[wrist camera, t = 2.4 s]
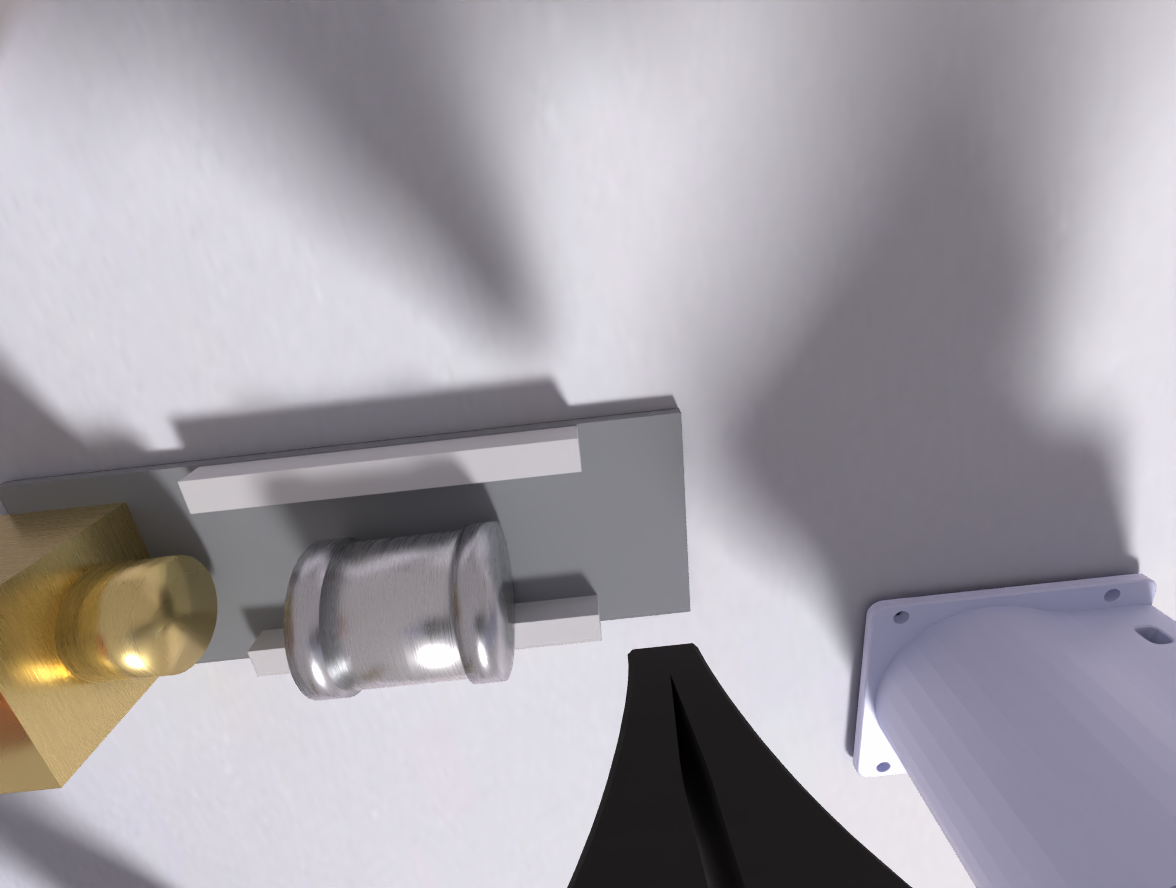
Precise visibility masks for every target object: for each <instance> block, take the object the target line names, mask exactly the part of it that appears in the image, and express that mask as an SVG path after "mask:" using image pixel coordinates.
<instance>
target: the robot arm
mask: <svg viewBox="0 0 1176 888" xmlns="http://www.w3.org/2000/svg"><path fill="white" fill-rule="evenodd" d="M1155 592H1156V583H1155V582H1154V581H1153V580H1151V579H1150V578H1148V577H1147V576H1145V575H1143V574H1128V575H1119V576H1109V577H1100V578H1090V579H1081V580H1071V581H1062V582H1052V583H1043V584H1033V585H1024V586H1014V587H1005V588H995V589H986V590H976V591H967V592H957V593H948V594H938V595H929V596H919V597H910V598H900V599H891V600H882V601H878V602H876V603H874V604H873V605H871V607H870V608H869V609H868V611H867V615H866V626H865V637H864V648H863V658H862V669H861V680H860V690H859V701H858V712H857V722H856V733H855V744H854V755H853V765H854V767H855V769H856V771H857V773H858V774H859V775H861V776H864V777H873V776H883V775H892V774H902V773H908V775H909V776H910V778H911V780H912V781H913V783H914V785H915V786H916V788H917V790H918V791H919V793H920V795H921V796H922V798H923V800H924V801H925V803H926V805H927V806H928V808H929V810H930V811H931V813H932V815H933V816H934V818H935V820H936V821H937V823H938V825H939V826H940V828H941V830H942V831H943V833H944V835H945V836H946V838H947V840H948V841H949V843H950V845H951V846H952V848H953V850H954V851H955V853H956V855H957V856H958V858H959V860H960V861H961V863H962V865H963V866H964V868H965V870H966V871H967V873H968V875H969V876H970V878H971V880H972V881H973V883H974V885H975V886H976V888H1176V621H1174V620H1173V619H1171V618H1170V617H1168V616H1167V615H1165V614H1164V613H1162V612H1161V611H1159V610H1158V609H1156V608H1155V607H1153V606H1152V602H1153V599H1154V595H1155ZM901 611H902V613H901V614H899V615H897V616H895V615H896V614H897V613H898V612H901ZM628 663H629V670H628V686H627V694H626V702H625V708H624V713H623V718H622V724H621V729H620V734H619V738H618V743H617V747H616V750H615V754H614V758H613V762H612V765H611V769H610V773H609V777H608V780H607V783H606V787H605V790H604V793H603V796H602V799H601V802H600V805H599V808H598V811H597V814H596V817H595V820H594V823H593V825H592V828H591V831H590V834H589V836H588V839H587V841H586V844H585V846H584V849H583V851H582V854H581V856H580V859H579V861H578V864H577V866H576V869H575V871H574V873H573V876H572V878H571V881H570V883H569V885H568V887H567V888H912V887H911V886H909V885H908V884H907V883H906V882H905V881H903V880H902V879H901V878H900V877H899V876H898V875H897V874H895V873H894V872H893V871H892V870H891V869H890V868H889V867H887V866H886V865H885V864H884V863H883V862H882V861H881V860H879V859H878V858H877V857H876V856H875V855H874V854H873V853H871V852H870V851H869V850H868V849H867V848H866V847H865V846H863V845H862V844H861V843H860V842H859V841H858V840H857V839H855V838H854V837H853V836H852V835H851V834H850V833H849V832H848V831H847V830H846V829H845V828H844V827H843V826H842V825H841V824H840V823H839V822H838V821H836V820H835V819H834V818H833V817H832V816H831V815H830V814H829V813H828V812H827V811H826V810H825V809H824V808H823V807H822V806H821V805H820V804H819V803H818V802H817V801H816V800H815V799H814V798H813V797H812V796H811V795H810V794H809V793H808V792H807V790H806V789H805V788H804V787H803V786H802V785H801V784H800V783H799V782H798V781H797V780H796V779H795V778H794V777H793V775H792V774H791V773H790V772H789V771H788V770H787V769H786V768H785V767H784V765H783V764H782V763H781V762H780V761H779V760H778V758H777V757H776V756H775V755H774V754H773V753H772V751H771V750H770V749H769V748H768V747H767V746H766V744H765V743H764V742H763V741H762V740H761V738H760V737H759V736H758V735H757V733H756V732H755V731H754V730H753V728H752V727H751V726H750V724H749V723H748V722H747V720H746V719H745V718H744V717H743V715H742V714H741V713H740V711H739V710H738V709H737V707H736V706H735V705H734V703H733V702H732V701H731V699H730V698H729V696H728V695H727V694H726V692H725V691H724V689H723V688H722V686H721V685H720V683H719V682H718V680H717V679H716V677H715V676H714V674H713V673H712V671H711V669H710V668H709V666H708V665H707V663H706V661H705V660H704V658H703V656H702V654H701V652H700V651H699V649H698V647H697V646H695V645H694V644H693V643H689V644H680V645H671V646H661V647H652V648H643V649H634V650H632V651H631V652H630V653H629V654H628Z"/></svg>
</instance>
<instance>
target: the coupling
mask: <svg viewBox="0 0 1176 888" xmlns="http://www.w3.org/2000/svg"><path fill="white" fill-rule="evenodd" d="M283 632H284V645H285V652H286V658H287V662H288V665H289V669H290V672H291V674H292V677H293V679H294V681H295V683H296V685H297V686H298V688H299V689H300V691H301V692H302V693H303V694H304V695H305V696H307V697H308V698H310V699H313V700H328V699H338V698H347V697H352V696H355V695H356V694H358V693H359V692H360V691H361V690H366V689H376V688H385V687H395V686H404V685H414V684H423V683H433V682H443V681H452V680H462V679H469V680H470V681H471V682H472V683H473V684H481V683H491V682H500V681H506V680H508V678H509V676H510V674H511V670H512V665H513V659H514V648H515V604H514V590H513V580H512V571H511V564H510V558H509V553H508V548H507V544H506V540H505V536H504V533H503V531H502V528H501V526H500V525H499V523H498V522H496V521H494V522H484V523H475V524H467V525H465V526H464V527H463V528H462V530H460V531H450V532H441V533H432V534H423V535H413V536H404V537H395V538H385V539H376V540H367V541H360V540H358V539H357V538H353V537H345V538H335V539H326V540H319V541H316V542H314V543H312V544H310V545H309V546H308V547H307V548H306V549H305V550H304V551H303V553H302V554H301V556H300V557H299V559H298V560H297V562H296V565H295V567H294V569H293V572H292V574H291V577H290V581H289V584H288V588H287V593H286V598H285V606H284V619H283Z"/></svg>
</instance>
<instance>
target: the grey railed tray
mask: <svg viewBox="0 0 1176 888" xmlns="http://www.w3.org/2000/svg"><path fill="white" fill-rule="evenodd" d="M0 499H1V501H2V503H3V505H4V507H5V509H6V510H7V512H8V514H9V515H11V514H20V513H30V512H39V511H48V510H57V509H67V508H76V507H85V506H94V505H103V504H113V503H122V502H126V504H127V506H128V509H129V511H130V513H131V515H132V517H133V519H134V522H135V524H136V526H137V528H138V530H139V533H140V535H141V537H142V539H143V541H144V544H145V546H146V548H147V550H148V552H149V555H150V557H151V558H157V557H166V556H175V555H186V556H190V557H193V558H195V559H196V560H198V561H199V562H201V563H202V564H203V565H204V566H205V568H206V569H207V570H208V572H209V573H210V575H211V577H212V580H213V582H214V585H215V589H216V594H217V605H218V607H217V620H216V625H215V630H214V633H213V636H212V639H211V641H210V643H209V645H208V647H207V649H206V651H205V653H204V654H203V655H202V657H201V658H200V659H199V660H198V661H197V663H206V662H215V661H225V660H234V659H244V658H250V659H251V662H252V664H253V667H254V669H255V672H256V674H257V676H268V675H277V674H287V673H291V672H290V669H289V665H288V662H287V658H286V652H285V645H284V632H283V619H284V606H285V598H286V593H287V588H288V584H289V581H290V577H291V574H292V572H293V569H294V567H295V565H296V562H297V560H298V559H299V557H300V556H301V554H302V553H303V551H304V550H305V549H306V548H307V547H308V546H309V545H310V544H312V543H314V542H316V541H319V540H326V539H335V538H345V537H353V538H357V539H358V540H360V541H367V540H376V539H385V538H395V537H404V536H413V535H423V534H432V533H441V532H450V531H460V530H462V528H463V527H464V526H465V525H467V524H475V523H484V522H494V521H496V522H498V523H499V525H500V526H501V528H502V531H503V533H504V536H505V540H506V544H507V548H508V553H509V558H510V564H511V571H512V580H513V590H514V604H515V648H514V650H515V649H525V648H534V647H544V646H553V645H563V644H572V643H582V642H591V641H601V640H602V637H601V624H600V621H604V620H614V619H623V618H633V617H642V616H652V615H661V614H671V613H680V612H690V595H689V573H688V552H687V530H686V509H685V488H684V466H683V445H682V423H681V412H680V410H679V408H676V409H667V410H658V411H649V412H640V413H631V414H621V415H612V416H603V417H594V418H585V419H576V420H566V421H557V422H548V423H539V424H530V425H521V426H511V427H502V428H493V429H484V430H475V431H466V432H456V433H447V434H438V435H429V436H420V437H411V438H401V439H392V440H383V441H374V442H365V443H356V444H346V445H337V446H328V447H319V448H310V449H301V450H291V451H282V452H273V453H264V454H255V455H246V456H236V457H227V458H218V459H209V460H200V461H191V462H181V463H172V464H163V465H154V466H145V467H136V468H126V469H117V470H108V471H99V472H90V473H81V474H71V475H62V476H53V477H44V478H35V479H26V480H16V481H7V482H5V483H2V484H0ZM197 663H196V664H197Z"/></svg>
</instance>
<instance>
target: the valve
mask: <svg viewBox="0 0 1176 888" xmlns="http://www.w3.org/2000/svg"><path fill="white" fill-rule="evenodd" d="M217 607H218V605H217V594H216V589H215V585H214V582H213V580H212V577H211V575H210V573H209V572H208V570H207V569H206V568H205V566H204V565H203V564H202V563H201V562H199V561H198V560H196V559H195V558H193V557H190V556H186V555H175V556H166V557H157V558H151V557H150V555H149V552H148V550H147V548H146V546H145V544H144V541H143V539H142V537H141V535H140V533H139V530H138V528H137V526H136V524H135V522H134V519H133V517H132V515H131V513H130V511H129V509H128V506H127V504H126V502H122V503H113V504H103V505H94V506H85V507H76V508H67V509H57V510H48V511H39V512H30V513H20V514H11V515H2V516H0V794H6V793H16V792H25V791H35V790H45V789H54V788H62V787H63V785H64V784H65V783H66V782H67V781H68V780H69V779H70V777H71V776H72V775H73V774H74V773H75V772H76V771H77V769H78V768H79V767H80V766H81V765H82V764H83V763H84V761H85V760H86V759H87V758H88V757H89V756H90V755H91V753H92V752H93V751H94V750H95V749H96V748H97V747H98V745H99V744H100V743H101V742H102V741H103V740H104V739H105V737H106V736H107V735H108V734H109V733H110V732H111V731H112V729H113V728H114V727H115V726H116V725H117V724H118V723H119V721H120V720H121V719H122V718H123V717H124V716H125V715H126V713H127V712H128V711H129V710H130V709H131V708H132V707H133V706H134V704H135V703H136V702H137V701H138V700H139V699H140V698H141V696H142V695H143V694H144V693H145V692H146V691H147V690H148V688H149V687H150V686H151V685H152V684H153V683H154V682H155V680H156V679H157V678H158V677H159V676H168V675H176V674H180V673H182V672H184V671H186V670H188V669H189V668H191V667H192V666H193V665H194V664H196V663H197V661H198V660H199V659H200V658H201V657H202V655H203V654H204V653H205V651H206V649H207V647H208V645H209V643H210V641H211V639H212V636H213V633H214V630H215V625H216V620H217Z"/></svg>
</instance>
